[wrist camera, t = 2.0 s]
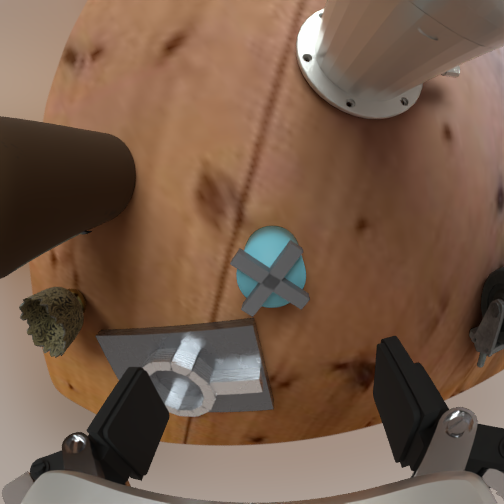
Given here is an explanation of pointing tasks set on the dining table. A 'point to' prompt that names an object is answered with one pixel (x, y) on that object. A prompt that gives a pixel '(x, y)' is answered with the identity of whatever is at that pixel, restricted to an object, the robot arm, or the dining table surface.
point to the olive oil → (56, 186)
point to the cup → (54, 318)
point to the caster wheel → (490, 318)
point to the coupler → (271, 270)
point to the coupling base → (199, 342)
